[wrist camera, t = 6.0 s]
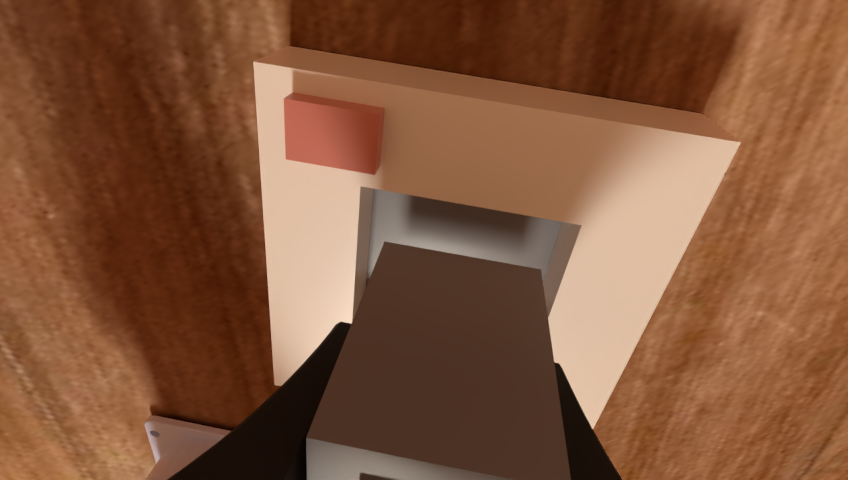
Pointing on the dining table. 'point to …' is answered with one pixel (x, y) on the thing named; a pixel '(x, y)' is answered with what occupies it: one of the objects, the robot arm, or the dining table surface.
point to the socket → (475, 197)
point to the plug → (443, 377)
